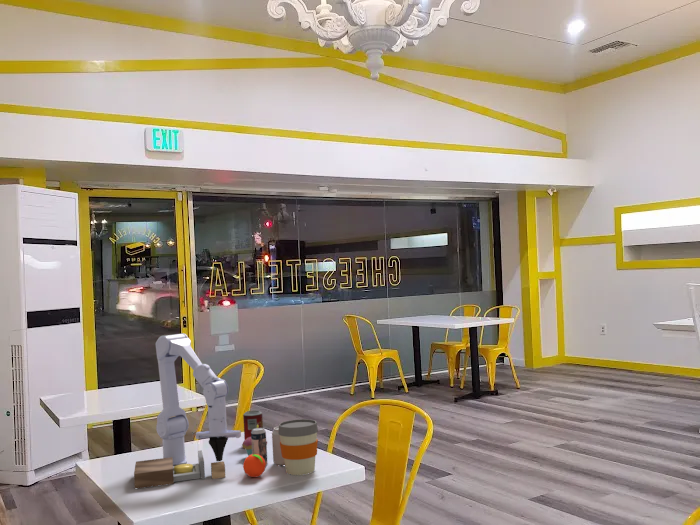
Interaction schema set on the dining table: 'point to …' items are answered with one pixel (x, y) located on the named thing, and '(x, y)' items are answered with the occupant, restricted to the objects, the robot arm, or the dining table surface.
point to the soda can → (252, 422)
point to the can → (277, 448)
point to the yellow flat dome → (183, 468)
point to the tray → (197, 470)
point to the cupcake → (248, 445)
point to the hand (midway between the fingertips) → (219, 460)
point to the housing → (153, 472)
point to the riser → (218, 470)
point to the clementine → (254, 465)
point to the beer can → (259, 442)
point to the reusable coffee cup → (299, 445)
